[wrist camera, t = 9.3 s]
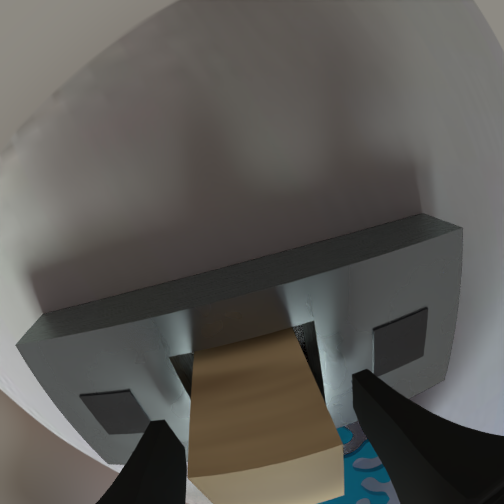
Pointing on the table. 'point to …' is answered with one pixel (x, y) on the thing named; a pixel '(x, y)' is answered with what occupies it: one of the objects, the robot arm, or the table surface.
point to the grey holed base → (256, 329)
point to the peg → (261, 426)
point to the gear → (359, 474)
